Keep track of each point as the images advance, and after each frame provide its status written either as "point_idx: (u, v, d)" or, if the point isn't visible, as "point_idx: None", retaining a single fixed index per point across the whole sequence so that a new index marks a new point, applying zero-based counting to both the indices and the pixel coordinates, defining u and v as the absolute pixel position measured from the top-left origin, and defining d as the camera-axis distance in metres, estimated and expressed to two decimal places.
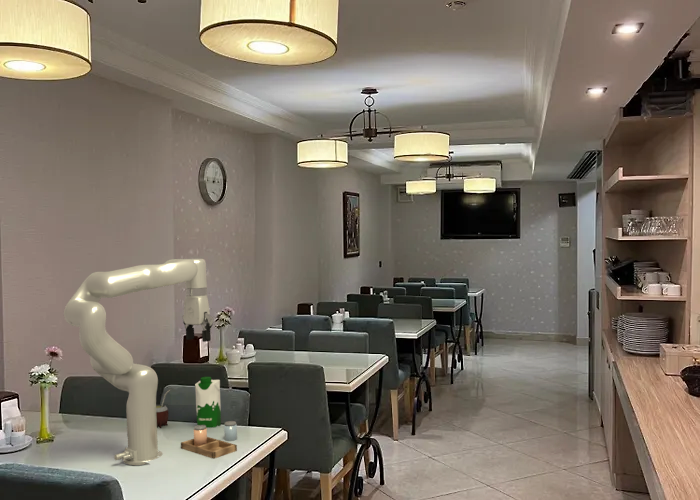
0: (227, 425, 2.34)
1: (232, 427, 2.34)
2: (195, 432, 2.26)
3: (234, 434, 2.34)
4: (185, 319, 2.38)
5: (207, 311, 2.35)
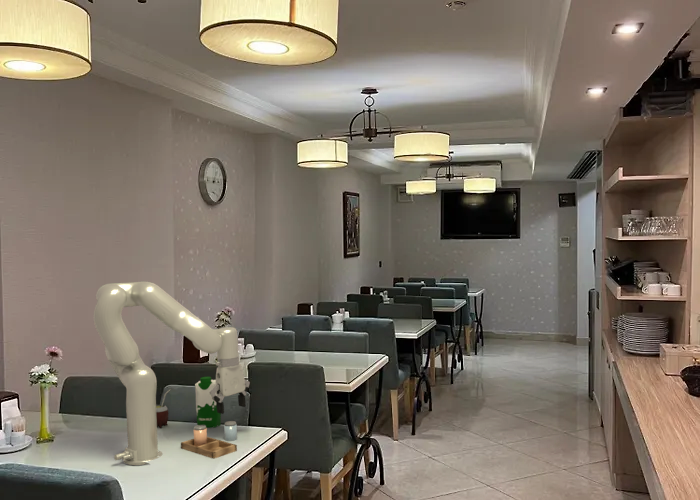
0: (227, 425, 2.34)
1: (232, 427, 2.34)
2: (195, 432, 2.26)
3: (234, 434, 2.34)
4: (227, 391, 2.31)
5: None
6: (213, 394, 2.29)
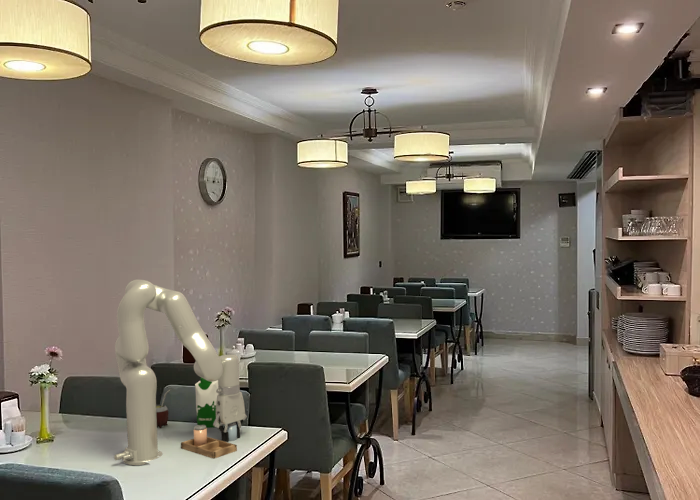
0: None
1: (232, 427, 2.34)
2: (195, 432, 2.26)
3: (234, 434, 2.34)
4: (227, 419, 2.31)
5: None
6: (217, 425, 2.31)
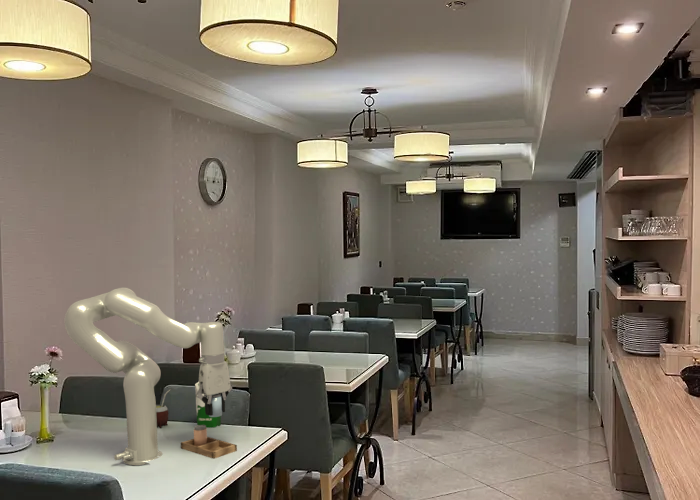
0: None
1: (216, 398, 2.20)
2: (195, 432, 2.26)
3: (219, 406, 2.20)
4: (210, 390, 2.17)
5: None
6: (200, 396, 2.17)
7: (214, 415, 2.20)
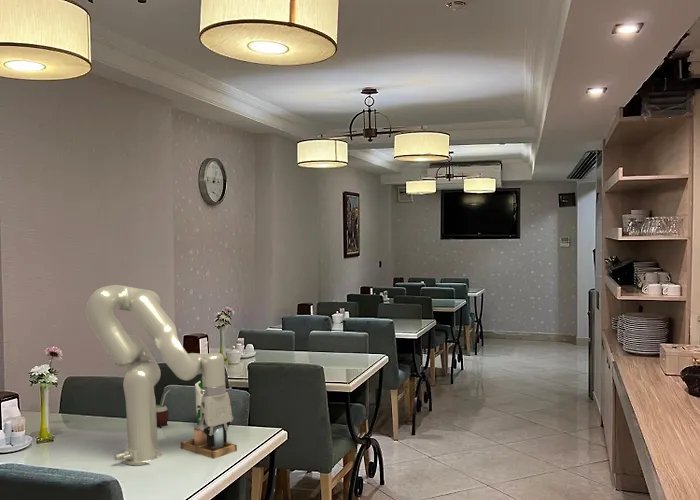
0: (213, 428, 2.20)
1: (218, 430, 2.20)
2: (195, 432, 2.26)
3: (220, 437, 2.20)
4: (212, 422, 2.17)
5: None
6: (202, 428, 2.17)
7: (216, 446, 2.20)
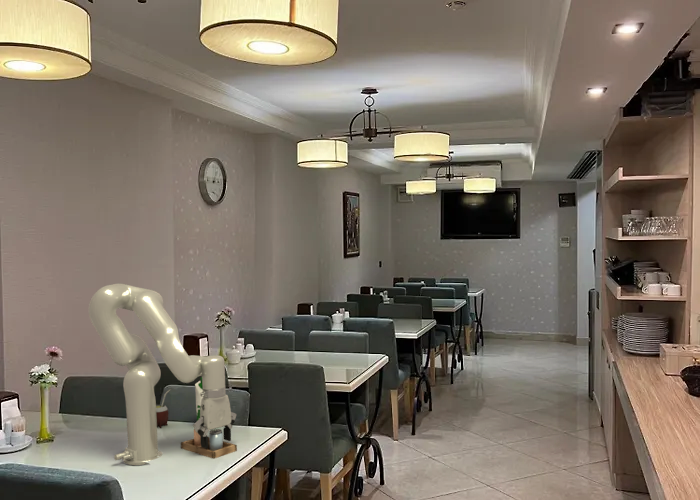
0: (212, 433, 2.20)
1: (217, 435, 2.20)
2: (195, 432, 2.26)
3: (220, 443, 2.20)
4: (212, 424, 2.17)
5: None
6: (197, 427, 2.16)
7: None
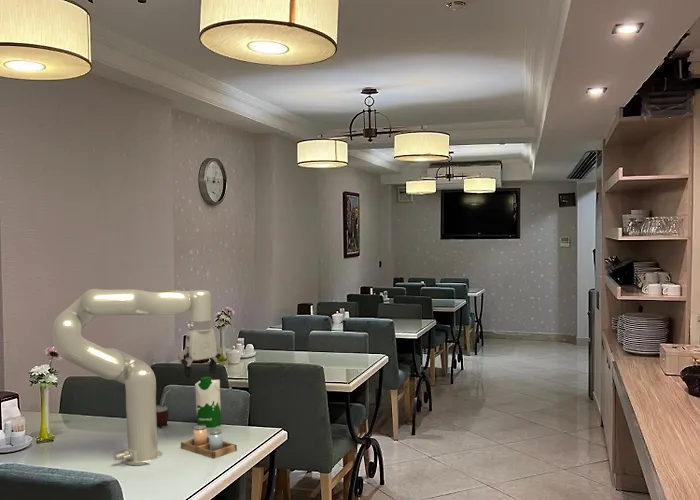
0: (212, 434, 2.20)
1: (217, 435, 2.20)
2: (195, 432, 2.26)
3: (220, 443, 2.20)
4: (196, 355, 2.24)
5: None
6: (181, 357, 2.22)
7: None
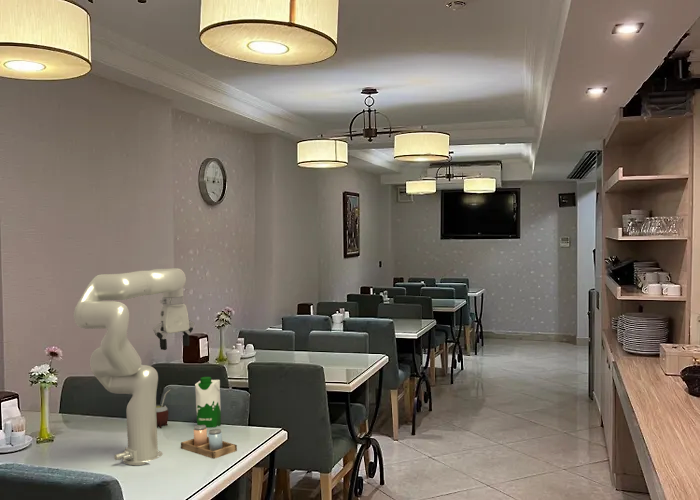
0: (212, 433, 2.20)
1: (217, 435, 2.20)
2: (195, 432, 2.26)
3: (220, 443, 2.21)
4: (170, 328, 2.40)
5: None
6: (156, 330, 2.38)
7: None
